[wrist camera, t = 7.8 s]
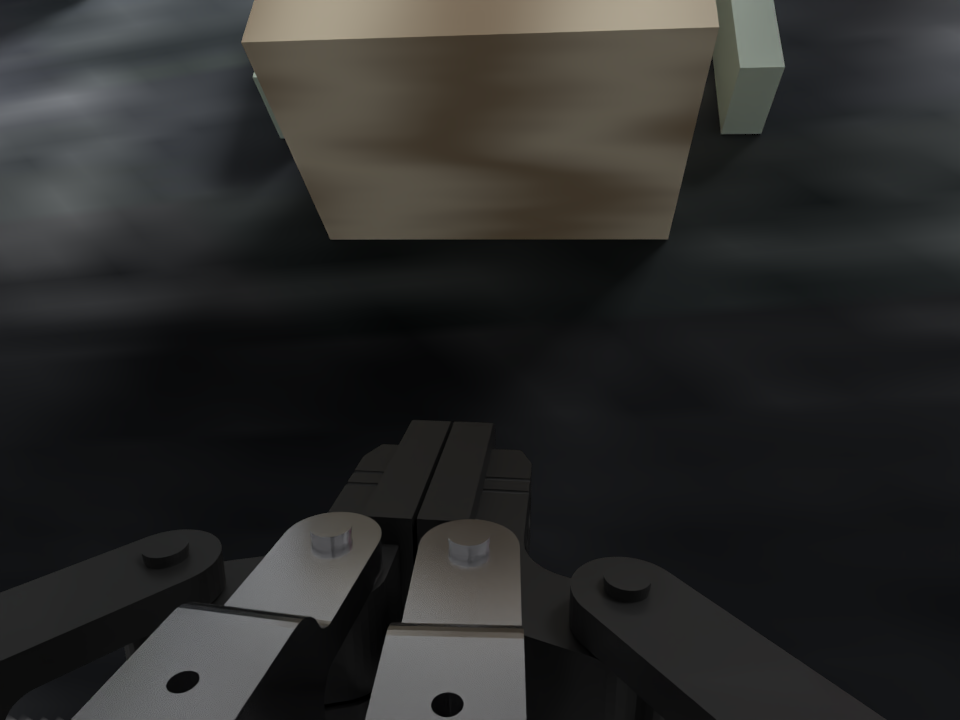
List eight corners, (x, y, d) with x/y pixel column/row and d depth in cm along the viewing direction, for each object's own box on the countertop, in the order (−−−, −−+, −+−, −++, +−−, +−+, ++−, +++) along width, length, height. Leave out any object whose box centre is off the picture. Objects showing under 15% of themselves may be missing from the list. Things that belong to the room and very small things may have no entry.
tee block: (652, 8, 25) (685, -230, 19) (667, 239, 20) (719, 27, 14) (373, 17, 26) (318, -204, 20) (330, 239, 21) (241, 42, 15)
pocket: (738, -27, 25) (756, -99, 23) (761, 133, 22) (784, 66, 20) (320, -13, 27) (300, -79, 25) (280, 138, 24) (252, 77, 21)
